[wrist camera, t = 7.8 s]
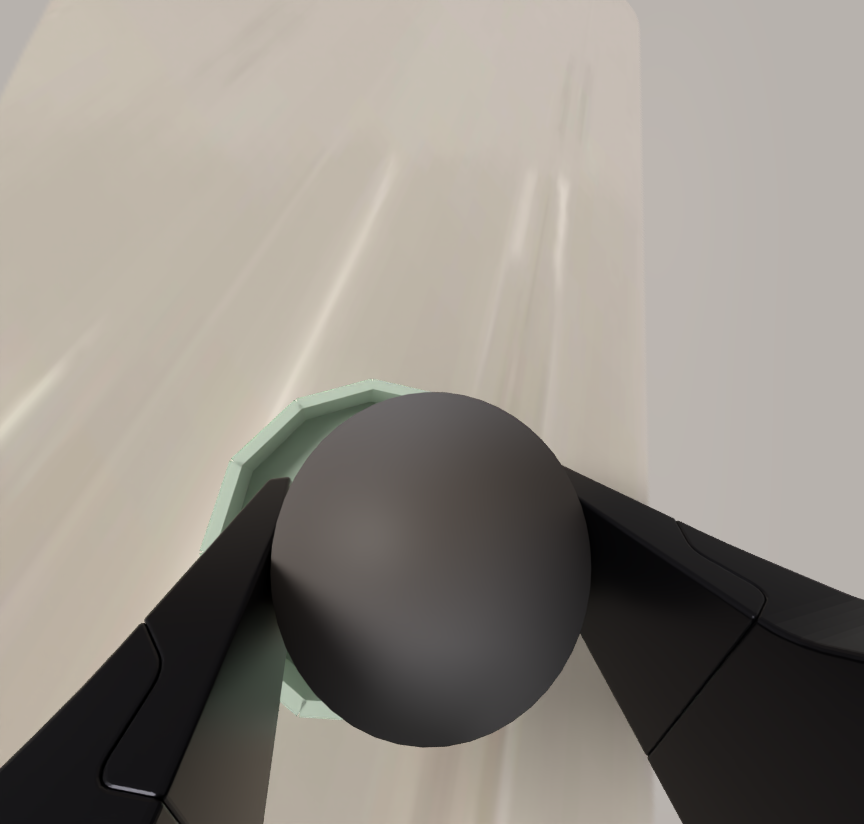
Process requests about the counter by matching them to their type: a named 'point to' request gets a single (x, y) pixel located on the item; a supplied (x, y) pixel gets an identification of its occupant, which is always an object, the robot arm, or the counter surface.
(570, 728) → the counter surface
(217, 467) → the counter surface
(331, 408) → the sage green dish
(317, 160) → the counter surface
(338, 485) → the walnut spice jar
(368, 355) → the counter surface
